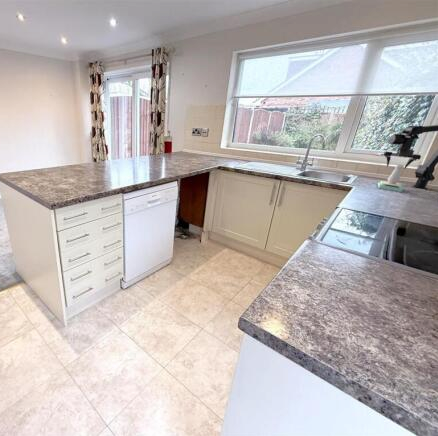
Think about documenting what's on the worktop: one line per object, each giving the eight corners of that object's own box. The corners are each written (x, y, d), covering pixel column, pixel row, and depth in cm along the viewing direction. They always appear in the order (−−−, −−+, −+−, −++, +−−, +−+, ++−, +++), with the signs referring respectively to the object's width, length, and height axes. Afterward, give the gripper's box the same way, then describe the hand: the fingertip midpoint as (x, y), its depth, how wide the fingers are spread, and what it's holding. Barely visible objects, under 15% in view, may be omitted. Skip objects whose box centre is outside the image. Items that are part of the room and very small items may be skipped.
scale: (377, 184, 182) (379, 180, 180) (399, 187, 175) (401, 183, 174) (378, 188, 171) (380, 184, 170) (401, 192, 165) (404, 187, 163)
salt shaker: (399, 184, 170) (408, 166, 164) (389, 184, 171) (398, 165, 165) (393, 182, 175) (402, 164, 169) (384, 181, 176) (392, 163, 170)
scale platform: (380, 181, 180) (381, 180, 179) (399, 184, 174) (399, 183, 174) (381, 184, 172) (382, 183, 171) (401, 187, 166) (401, 186, 166)
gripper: (389, 144, 169) (379, 166, 175) (427, 147, 158) (415, 171, 165) (387, 143, 177) (378, 164, 183) (424, 146, 166) (413, 169, 173)
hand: (395, 167), depth 176 cm, fingers open, 9 cm apart
